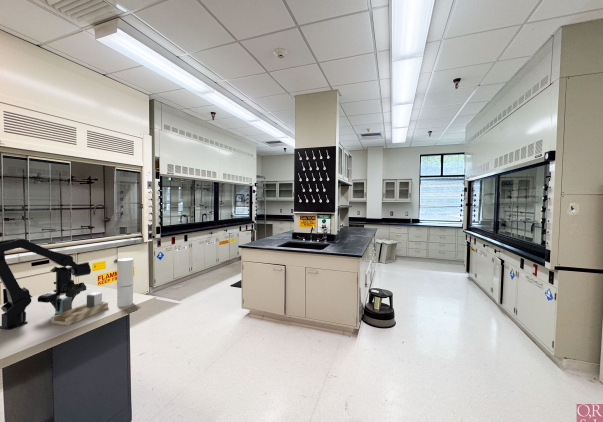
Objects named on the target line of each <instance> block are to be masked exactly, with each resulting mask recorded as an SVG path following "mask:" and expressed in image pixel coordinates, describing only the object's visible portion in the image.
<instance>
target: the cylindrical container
mask: <svg viewBox="0 0 603 422" xmlns="http://www.w3.org/2000/svg"><path fill="white" fill-rule="evenodd" d="M116 278H117V280H116V282H117V283H116V287H117V289H116V291H117V292H116V306H117V307H118V308H125V307H129V306H131V305H133V303H134V258H133V257H124V258H118V259H117V277H116Z"/></svg>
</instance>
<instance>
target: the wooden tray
mask: <svg viewBox="0 0 603 422" xmlns="http://www.w3.org/2000/svg"><path fill="white" fill-rule="evenodd" d="M108 308H109V302H108V301H102V304H100V305H97V306H95V307H92V308H87V302H86V303H84V304H82V305H79V306H76V307H74V308H72V309H71V310H68V311H66V312H63V313H61V314H55V315H53V316H51V317H50V318H51V322H50V323H51V325H53V324H54V325H59V326H60V325H61V326H70V325H72V324H74V323H77V322H79V321H82V320H84V319H86V318H89V317H91V316H93V315H96V314H98V313H100V312H102V311H104V310H106V309H108Z"/></svg>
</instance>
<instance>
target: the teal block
mask: <svg viewBox="0 0 603 422" xmlns="http://www.w3.org/2000/svg"><path fill="white" fill-rule="evenodd" d="M60 299H62V300H61V301H60V311H59V312H57V311H56V309H55V308H54V311H55V313H54V314H55V315H58V314H61V313H63V312H66V311H68V310H71V309H73V302H72V297H67V296H65V295H64V296H62V297H60Z"/></svg>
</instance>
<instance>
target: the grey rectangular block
mask: <svg viewBox="0 0 603 422" xmlns="http://www.w3.org/2000/svg"><path fill="white" fill-rule="evenodd" d="M102 302H103V292H99V291H93V292H91V293H88V294H86V303H87V308H92V307H95V306H97V305H100V304H102Z"/></svg>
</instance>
